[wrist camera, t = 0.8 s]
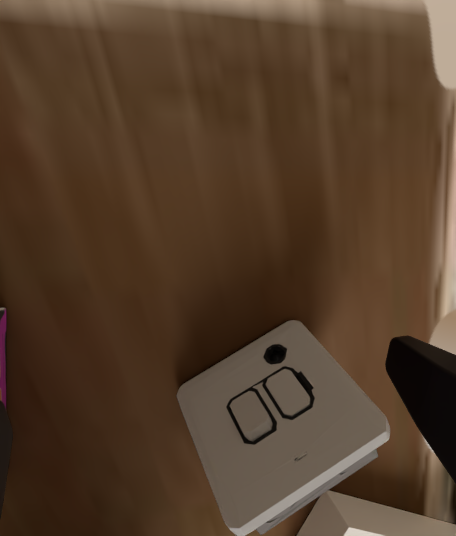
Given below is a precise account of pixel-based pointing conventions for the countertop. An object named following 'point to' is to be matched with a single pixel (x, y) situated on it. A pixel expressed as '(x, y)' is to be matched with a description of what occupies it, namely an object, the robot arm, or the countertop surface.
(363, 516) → the power strip
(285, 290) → the countertop surface
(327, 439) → the electrical switch
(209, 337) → the countertop surface
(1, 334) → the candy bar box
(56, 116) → the countertop surface
